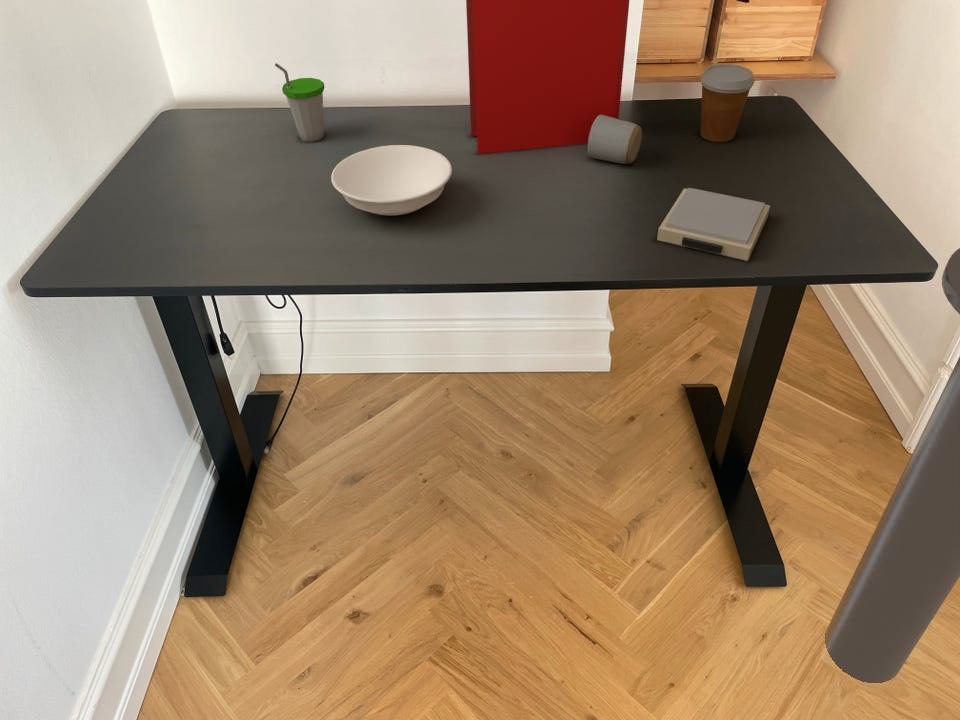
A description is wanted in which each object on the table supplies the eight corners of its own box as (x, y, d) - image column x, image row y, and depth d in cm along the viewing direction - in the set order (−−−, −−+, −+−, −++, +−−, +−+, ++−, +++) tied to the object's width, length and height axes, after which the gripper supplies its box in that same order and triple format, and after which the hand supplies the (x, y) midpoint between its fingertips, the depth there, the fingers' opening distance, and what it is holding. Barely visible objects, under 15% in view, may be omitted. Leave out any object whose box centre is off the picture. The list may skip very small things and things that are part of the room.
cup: (338, 130, 156) (326, 54, 146) (322, 147, 150) (308, 69, 140) (302, 127, 158) (288, 51, 148) (285, 143, 152) (269, 66, 142)
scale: (767, 217, 126) (771, 201, 124) (746, 263, 116) (750, 246, 114) (682, 199, 131) (684, 184, 129) (655, 242, 121) (657, 225, 119)
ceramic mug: (628, 172, 139) (633, 131, 134) (585, 164, 142) (588, 123, 137) (646, 148, 146) (651, 108, 141) (604, 141, 149) (607, 102, 144)
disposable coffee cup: (682, 137, 149) (692, 74, 141) (706, 120, 155) (717, 59, 147) (728, 150, 144) (740, 86, 137) (751, 133, 150) (765, 70, 142)
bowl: (438, 170, 141) (436, 137, 137) (467, 224, 127) (465, 189, 123) (329, 187, 138) (323, 154, 134) (345, 245, 123) (339, 209, 119)
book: (477, 153, 146) (471, -32, 125) (471, 135, 152) (464, -44, 131) (618, 140, 149) (635, -44, 128) (606, 122, 155) (621, -56, 134)
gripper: (791, -145, 125) (759, 0, 136) (650, -159, 119) (628, -6, 129) (820, -147, 119) (784, 5, 130) (672, -161, 113) (647, 0, 123)
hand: (706, 0), depth 130 cm, fingers open, 13 cm apart
